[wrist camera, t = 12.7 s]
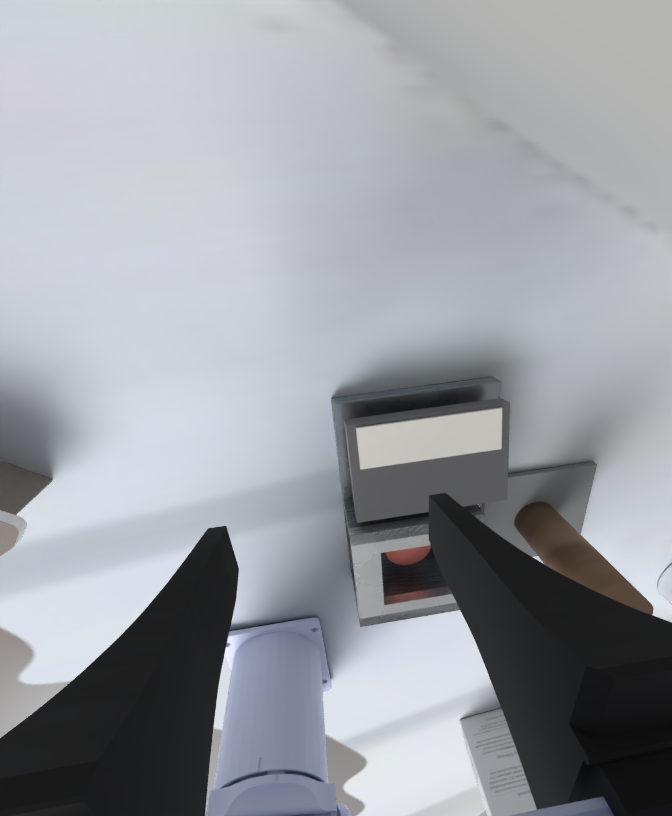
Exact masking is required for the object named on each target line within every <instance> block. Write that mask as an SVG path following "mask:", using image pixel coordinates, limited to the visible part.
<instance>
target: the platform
mask: <svg viewBox="0 0 672 816" xmlns="http://www.w3.org/2000/svg"><path fill="white" fill-rule="evenodd" d="M52 480H53V479H51V478H48V477H45V476H42V475H39V474H37V473H34V472H31V471H28V470H26V469H23V468H20V467H17V466H14V465H12V464H9V463H6V462H3V461H1V460H0V556H1V555H3V554H4V553H6V552H7V551H9V550H10V549H12V548H13V547H14V546H15V545H16V544H17V543H18V542H19V541H20V540H21V539H22V537H23V534H24V531H25V529H26V526H27V523H26V521H25V520H24V519H23V518H21V517H20V516H17V515H16V514H17V513H18V512H19V511H21V510H22V509H23V508H24V507H25V506H26V505H27V504H28V503H29V502H30V501H31V500H32V499H33V498H35V497H36V496H37V495H38V494H39V493H40V492H41V491H42V490H43V489H44V488H45V487H46V486H47V485H49V484H50V483H51V482H52Z"/></svg>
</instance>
